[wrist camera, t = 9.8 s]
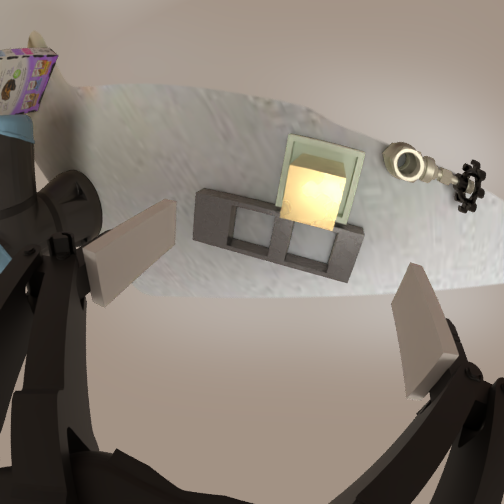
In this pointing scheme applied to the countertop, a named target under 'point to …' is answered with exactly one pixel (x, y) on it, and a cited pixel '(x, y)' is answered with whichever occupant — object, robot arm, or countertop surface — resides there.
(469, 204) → the valve
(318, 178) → the wooden block
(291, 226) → the grey slotted holder
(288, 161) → the tray
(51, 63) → the candy box
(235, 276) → the countertop surface
